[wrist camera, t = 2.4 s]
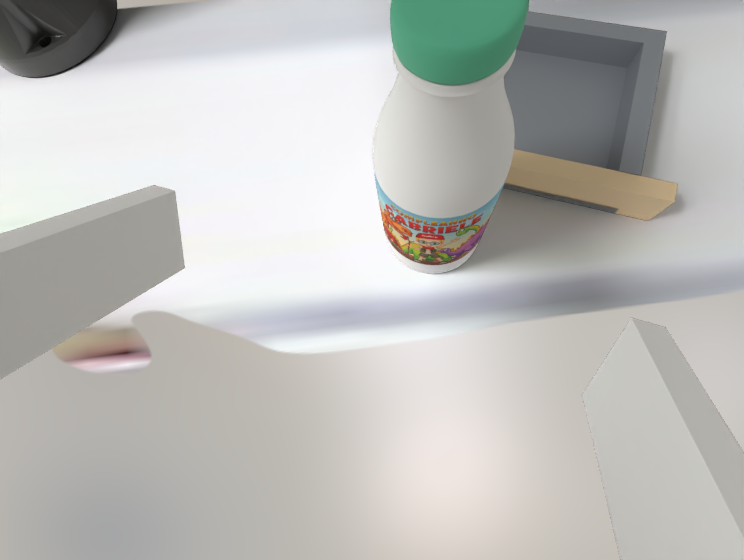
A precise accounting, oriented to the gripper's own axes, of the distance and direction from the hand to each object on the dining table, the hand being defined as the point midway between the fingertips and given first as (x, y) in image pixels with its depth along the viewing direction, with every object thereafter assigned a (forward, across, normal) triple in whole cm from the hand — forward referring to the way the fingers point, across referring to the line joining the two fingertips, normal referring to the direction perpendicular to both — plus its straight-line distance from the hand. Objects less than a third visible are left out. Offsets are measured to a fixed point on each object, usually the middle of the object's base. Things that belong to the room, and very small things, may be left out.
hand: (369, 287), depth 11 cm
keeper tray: (+30, +6, +3) cm, 30 cm away
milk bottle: (+21, 0, -6) cm, 22 cm away
